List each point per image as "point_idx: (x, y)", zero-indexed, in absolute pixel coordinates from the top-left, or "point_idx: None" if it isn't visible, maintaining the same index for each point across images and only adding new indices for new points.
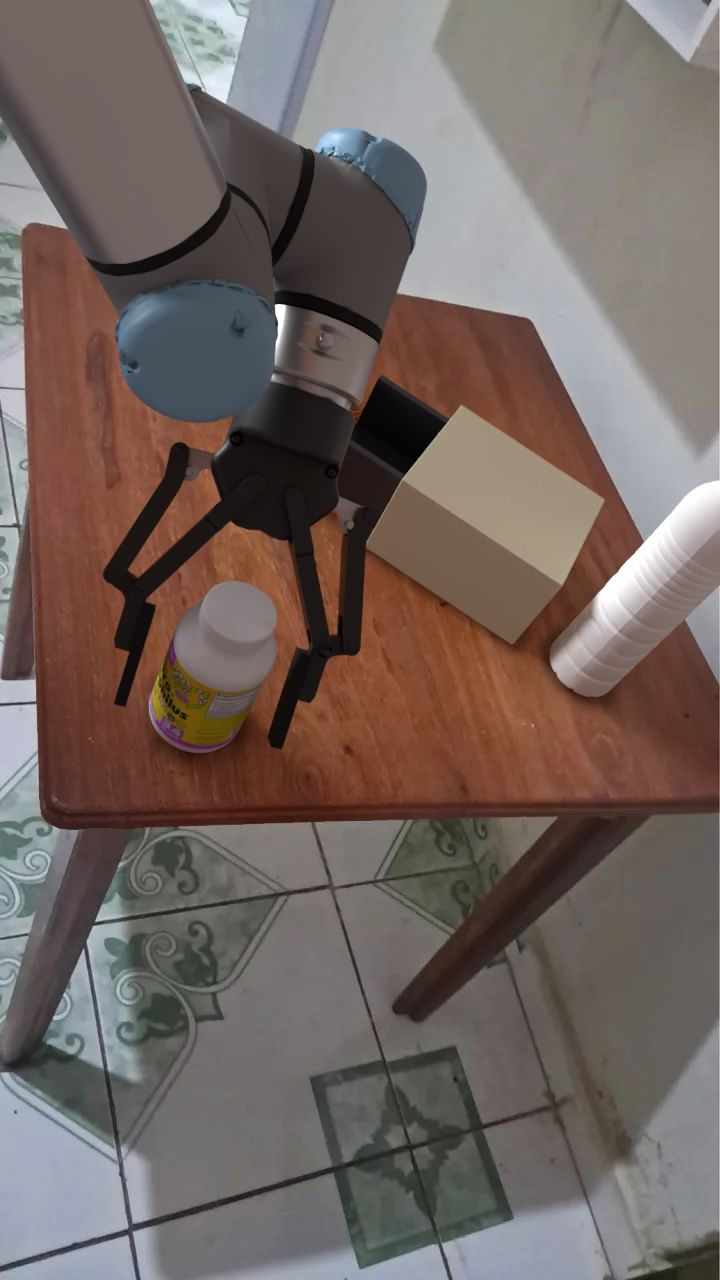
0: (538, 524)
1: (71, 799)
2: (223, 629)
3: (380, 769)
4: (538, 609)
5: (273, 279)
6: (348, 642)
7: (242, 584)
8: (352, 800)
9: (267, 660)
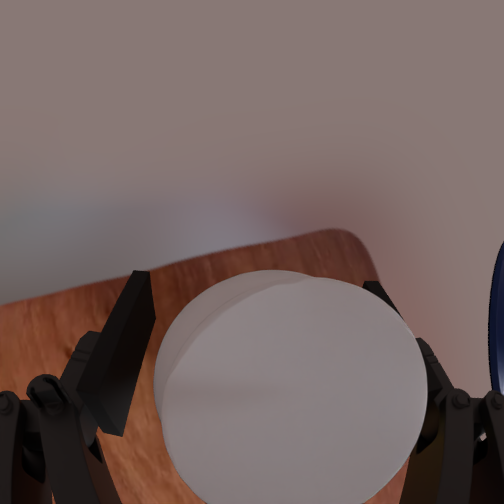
0: None
1: (346, 231)
2: (361, 307)
3: (39, 333)
4: None
5: None
6: (9, 415)
7: None
8: (64, 291)
9: (172, 346)
